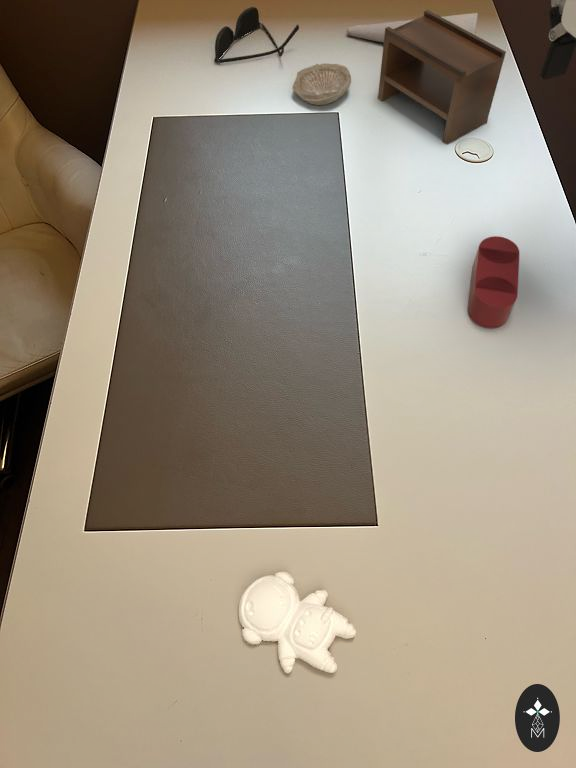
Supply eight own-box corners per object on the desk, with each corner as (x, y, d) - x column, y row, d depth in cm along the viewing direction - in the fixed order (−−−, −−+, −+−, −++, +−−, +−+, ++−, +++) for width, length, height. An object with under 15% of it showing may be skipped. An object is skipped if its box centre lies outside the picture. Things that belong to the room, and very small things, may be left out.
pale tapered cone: (338, 31, 122) (475, 27, 116) (346, 8, 126) (479, 4, 120) (341, 69, 128) (471, 68, 122) (348, 47, 133) (474, 44, 126)
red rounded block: (473, 255, 93) (480, 233, 90) (511, 261, 92) (520, 239, 89) (466, 324, 86) (473, 303, 82) (507, 331, 85) (516, 310, 81)
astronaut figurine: (318, 699, 60) (318, 694, 58) (222, 623, 64) (219, 615, 62) (366, 622, 64) (369, 615, 62) (273, 555, 68) (271, 546, 66)
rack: (416, 79, 120) (427, 9, 109) (486, 123, 112) (506, 51, 101) (377, 98, 117) (385, 27, 106) (447, 144, 108) (462, 72, 98)
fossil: (289, 110, 116) (287, 96, 114) (303, 74, 122) (301, 60, 120) (344, 113, 114) (343, 99, 112) (355, 76, 120) (355, 62, 117)
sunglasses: (271, 81, 120) (270, 55, 116) (209, 62, 125) (206, 37, 121) (313, 41, 128) (313, 16, 124) (253, 25, 133) (252, -1, 129)
